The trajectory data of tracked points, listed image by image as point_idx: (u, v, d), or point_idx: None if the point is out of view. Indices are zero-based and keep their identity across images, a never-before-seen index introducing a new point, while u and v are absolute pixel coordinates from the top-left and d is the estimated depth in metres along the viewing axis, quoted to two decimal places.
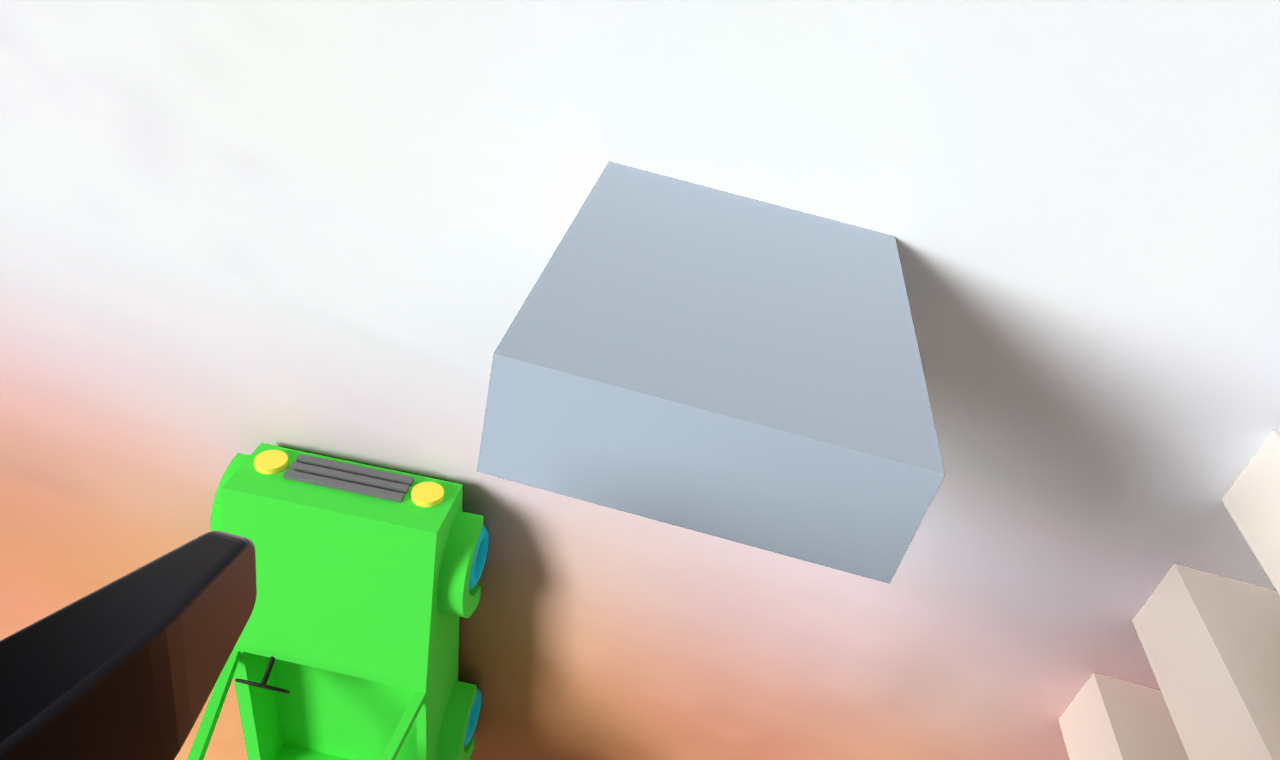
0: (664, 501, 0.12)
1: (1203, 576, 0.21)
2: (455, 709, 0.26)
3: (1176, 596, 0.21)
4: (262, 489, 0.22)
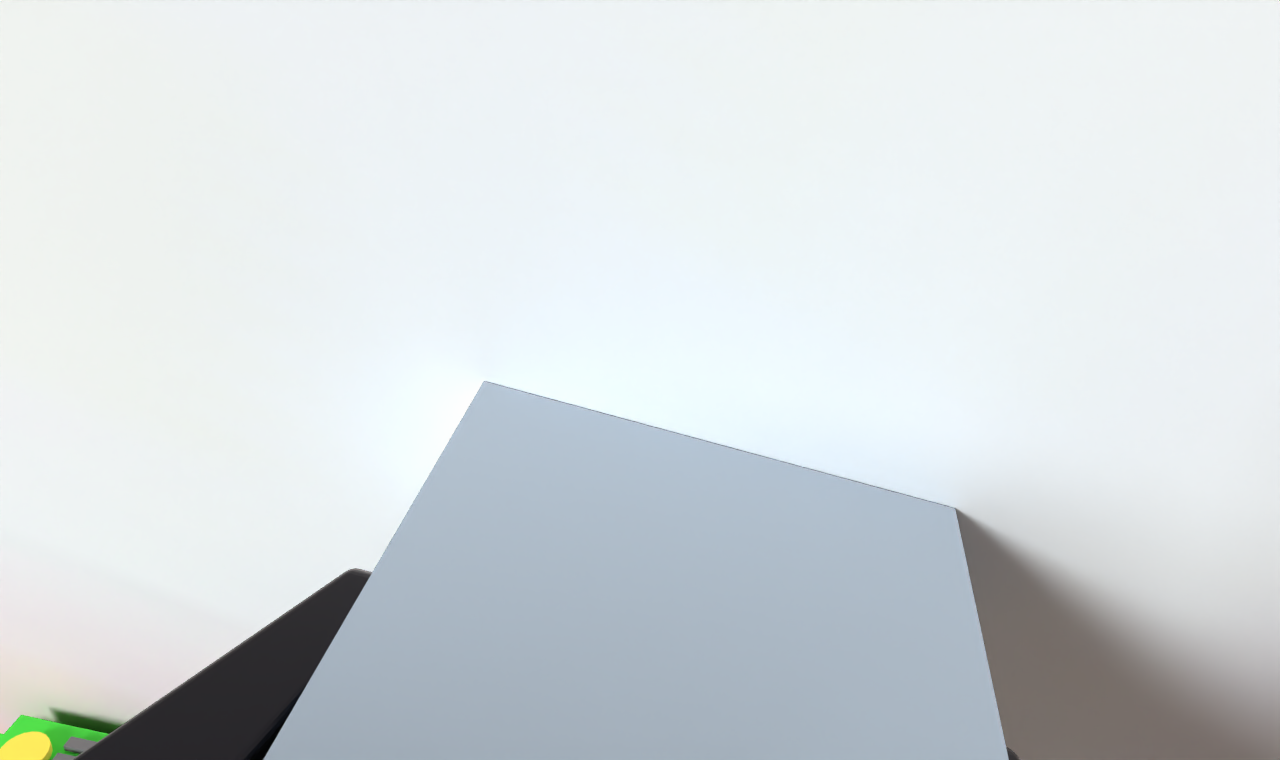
0: None
1: None
2: None
3: None
4: None
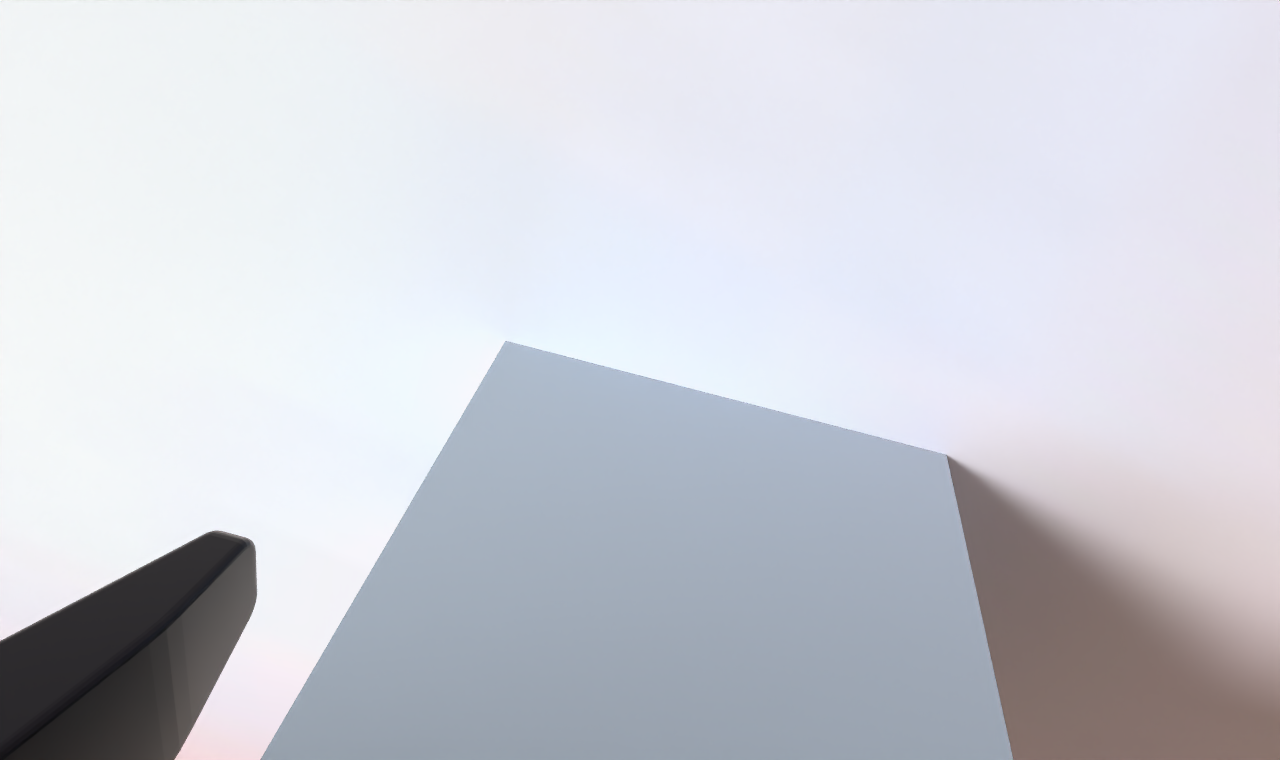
0: None
1: None
2: None
3: None
4: None
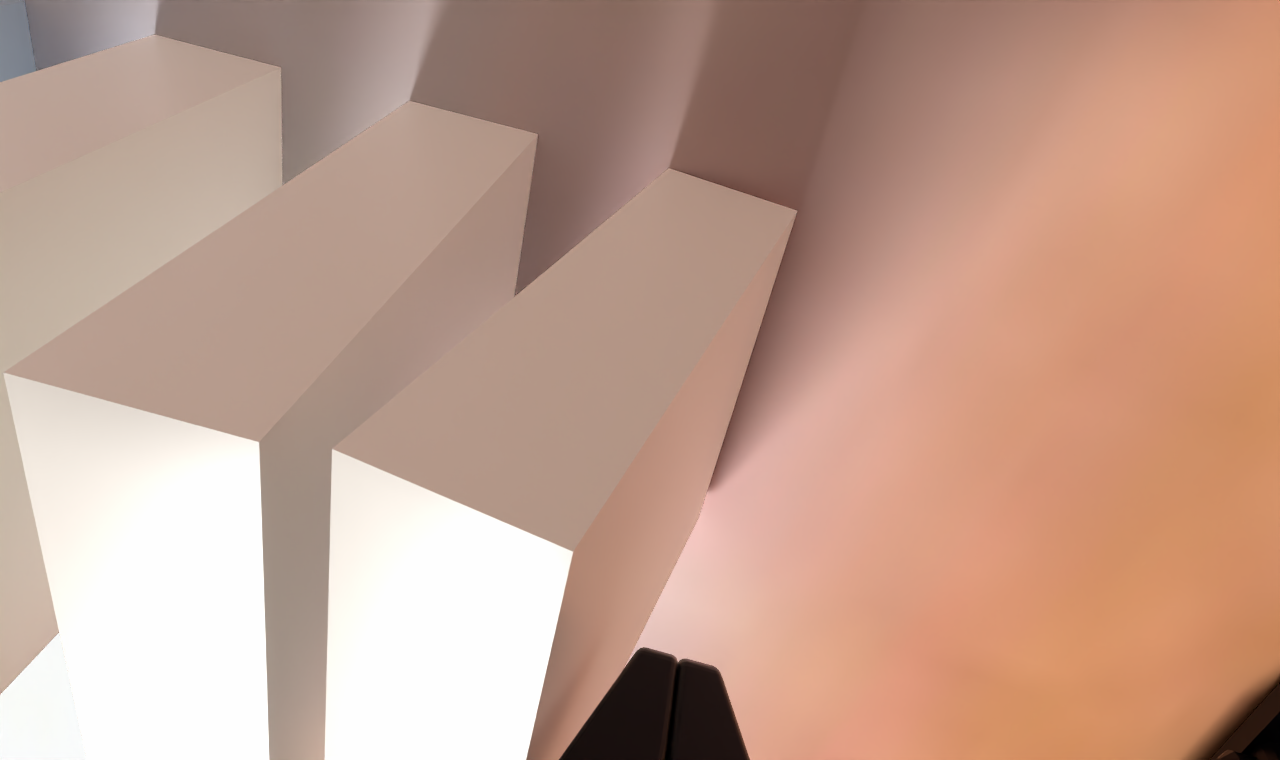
0: None
1: None
2: None
3: None
4: None
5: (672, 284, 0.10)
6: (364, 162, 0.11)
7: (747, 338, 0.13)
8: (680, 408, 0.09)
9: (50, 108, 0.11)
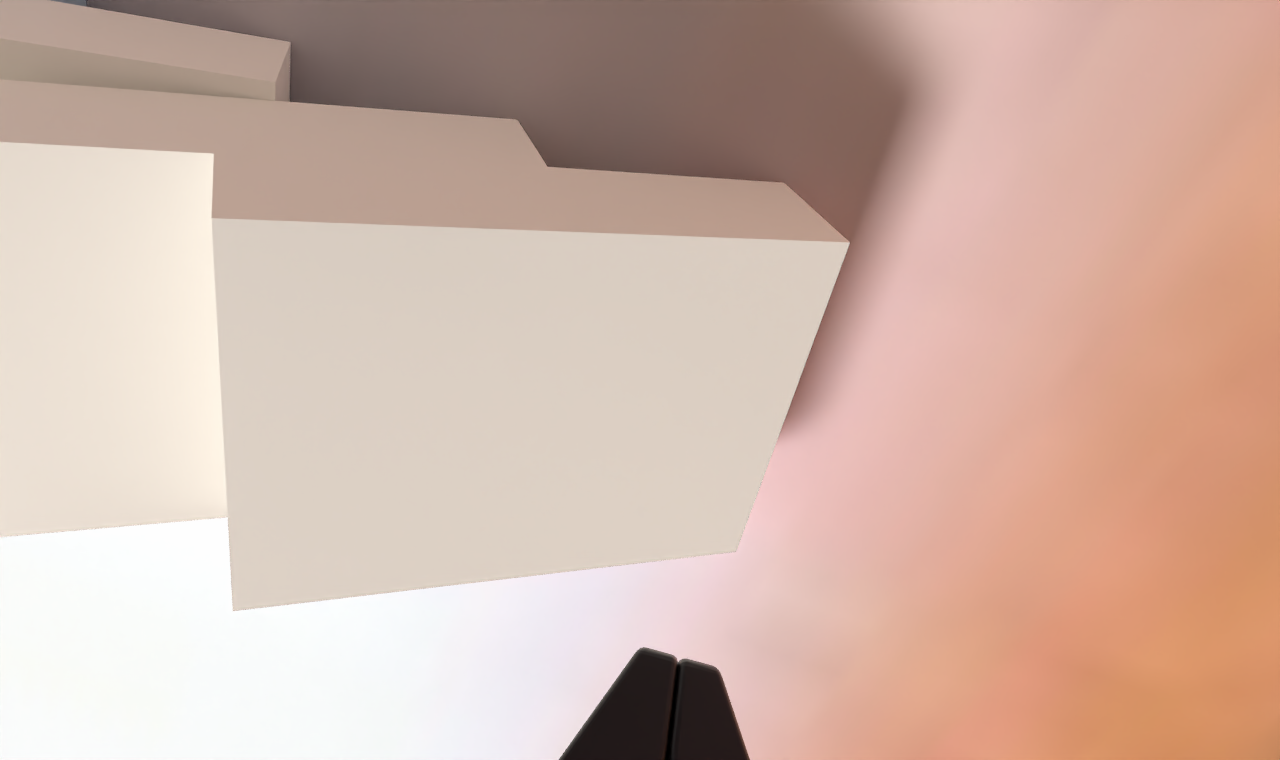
0: None
1: None
2: None
3: None
4: None
5: (594, 206, 0.12)
6: (343, 117, 0.13)
7: (742, 338, 0.13)
8: (473, 259, 0.11)
9: (18, 14, 0.12)
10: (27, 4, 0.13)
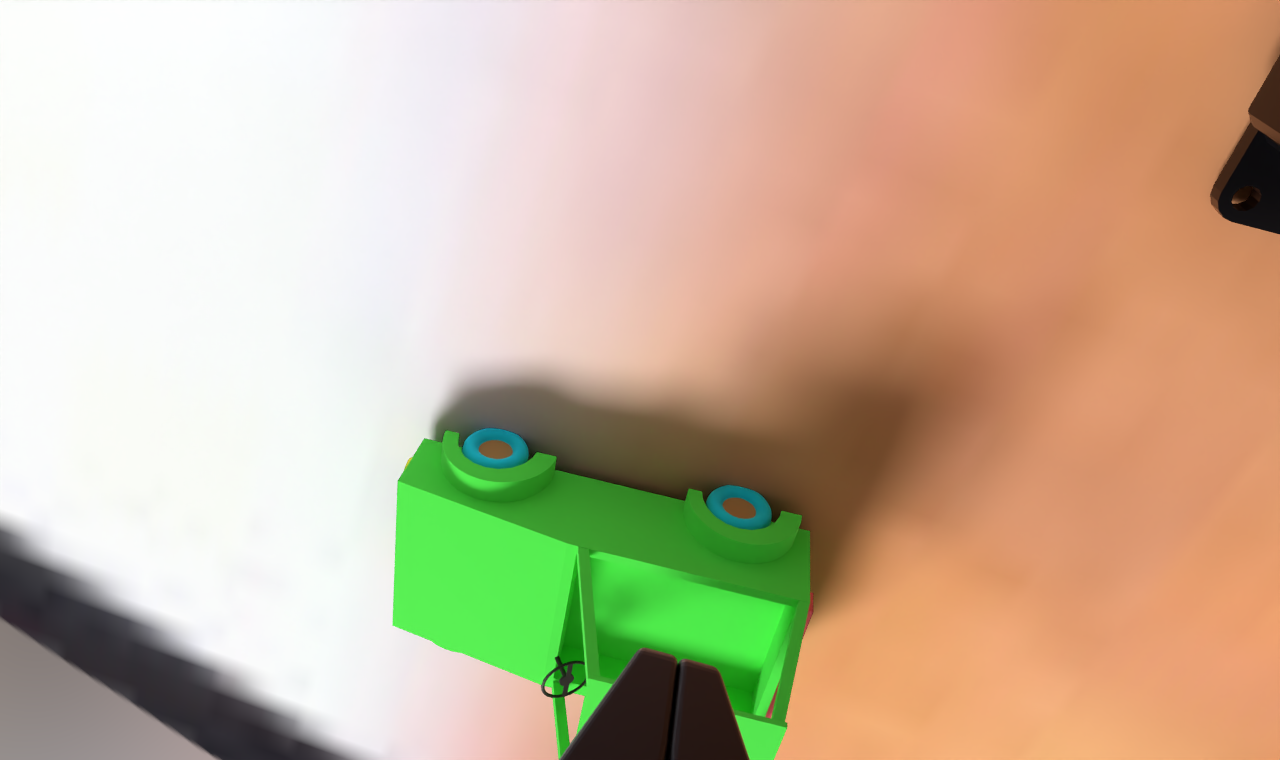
0: None
1: None
2: (690, 520, 0.23)
3: None
4: (396, 597, 0.26)
5: None
6: None
7: None
8: None
9: None
10: None
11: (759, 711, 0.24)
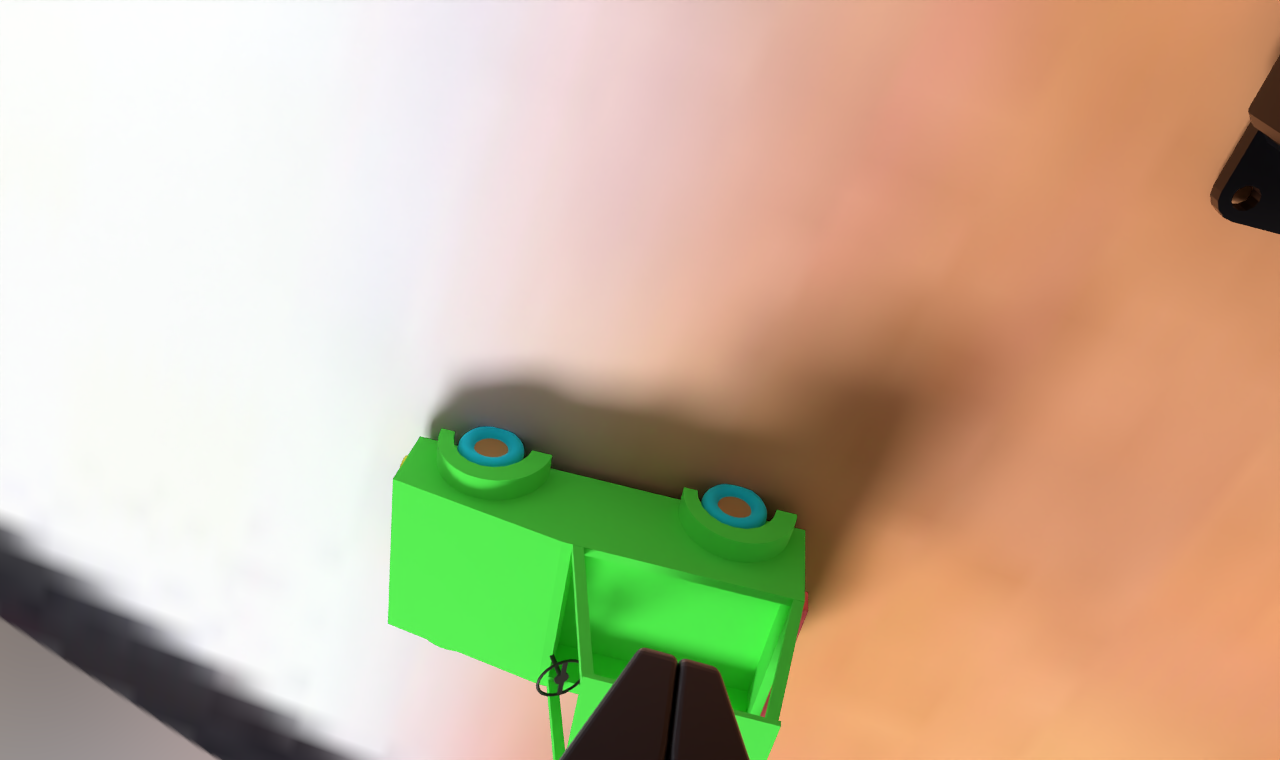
0: None
1: None
2: (686, 519, 0.23)
3: None
4: (392, 595, 0.26)
5: None
6: None
7: None
8: None
9: None
10: None
11: (754, 710, 0.24)
